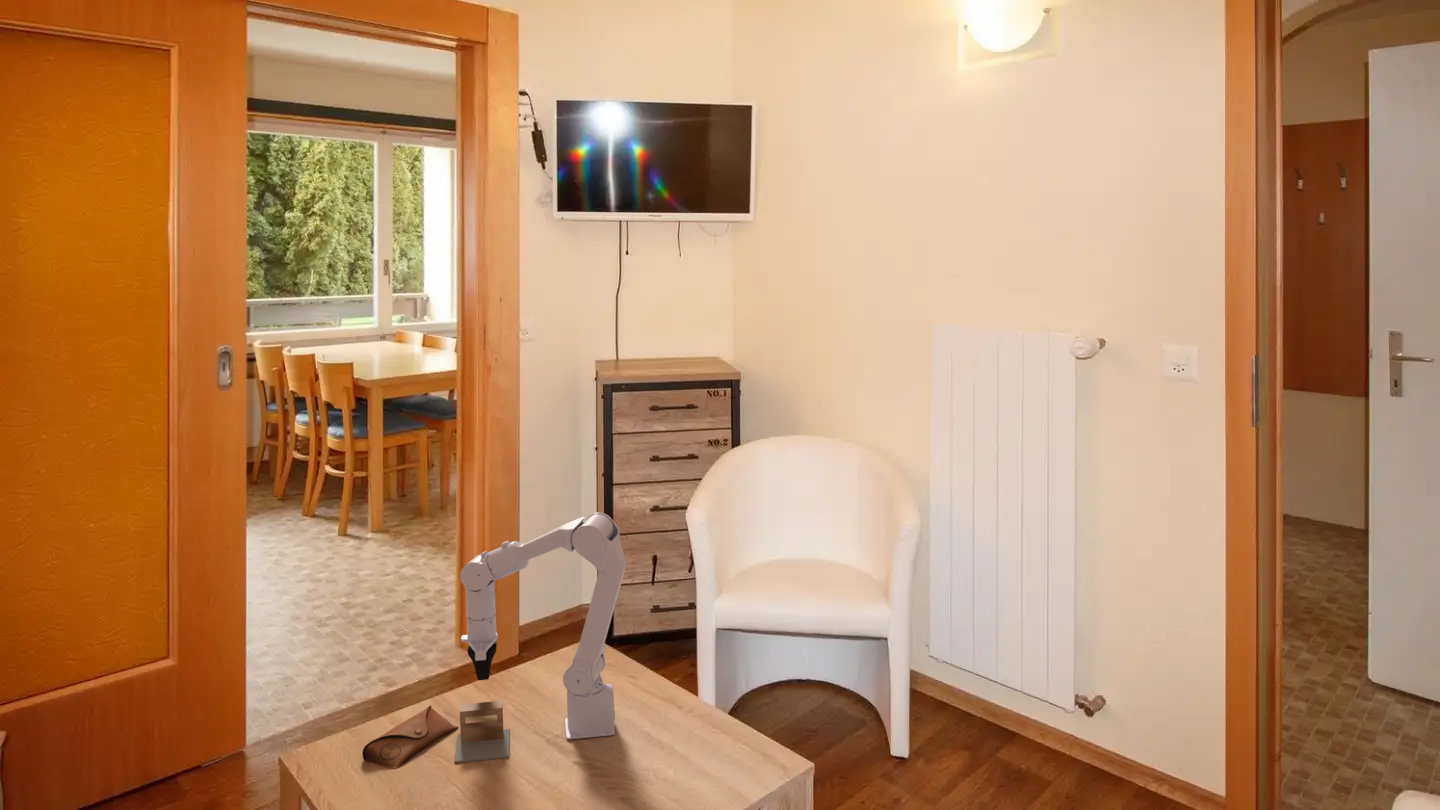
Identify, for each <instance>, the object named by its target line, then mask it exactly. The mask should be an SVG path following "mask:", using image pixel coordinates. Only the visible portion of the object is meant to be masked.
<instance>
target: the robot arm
mask: <svg viewBox="0 0 1440 810" xmlns="http://www.w3.org/2000/svg"><path fill="white" fill-rule="evenodd" d="M584 520H585V521H584ZM620 535H621V534H620V527H619V526H618V524H616V522H615V521H614V520H613V518H612V517H611V516H609V515H608V514H606V513H603V512H593V513H591V514H590V515H589V516H588V517H587V518H586V516H582V517H579V518H576V519H575V520H572V521H569V522H566V523H565V524H562V525H560V526H559V527H556V528H554V529H552V530H550V531H548V532H545V533H544V534H541V535H539V536H538V537H535V538H533V539H531V540H529V541H527V542H525V543H522V542H519V541H516V540H514V541H512V542H510V540H505V541H503V542H502V543H501V544H500V547H497V548H495V549H494V550H491V551H488V550H485V551H483V552H481V553H480V554H478V555H476V556H475V557H474V558H472V559H471V560H470V561H468V562H467V563H466V564H465V565H464V566H463V567H462V568H461V570H460V575H459V577H460V578H459V579H460V582H461V584H462V585H463V586H464V588H465V612H466V613H465V615H466V634H465V635H464V634H463V635H461V638H460V641H461V643H467V644H468V646H467V655H468V657H469V658H470V659H471V662H472V664H473V668H474V671H475V675H476V678H477V680H478V681H488V680H489V679H490V675H491V668H492V663H493V662H492V661H493V659H494V656H495V654H496V652H497V645H498V641H497V640H498V637H499V636H498V635H499V634H498V632H497V615H496V613H497V612H496V611H497V610H496V588H495V586H496V585H495V581H497V580H498V581H499V580H500V579H503V578H506V577H508V576H510V575H512V574H514V573H516V572H519V571H521V570H522V571H523V569H526V568H527V567H528V564H529V560H531V559H535V558H537V557H539V556H542V555H544V554H547V553H549V552H552V551H555V550H557V549H560V548H563V549H565V550H566V551H568V552H570V553H573V552H574V551H575V552H576V553H578V554H579V555H580V556H581V557H583V558H584V559H585V560H586V561H588V562H589V563H590V564H592V565H593V566H594V567H595V569H596V570H597V571H598V575H597V577H596V581H595V585H594V589H593V592H592V596H591V600H590V604H589V607H588V611H587V615H586V617H585V621H584V626H583V630H582V631H581V635H580V636H581V637H580V640H579V643H578V646H577V647H576V651H575V654H574V656H573V659H572V661H571V663H570V665H569V666H568V667H567V669H566V670H565V672H564V673H563V677H562V678H563V681H562V682H563V685H564V687H565V689H566V705H567V706H566V707H567V708H566V712H567V713H566V714H567V717H566V718H565V719H564V725H565V737H566V740H576V739H577V740H578V739H586V738H597V737H598V738H599V737H607V736H608V737H609V736H615V720H616V713H615V696H614V687H613V686H614V685H613V684H611V683H604V682H603V678H602V676H601V673H602V672H603V670H605V667H606V657H605V650H606V645H605V643H606V639H607V637H608V632H609V629H610V625H611V621H612V617H613V614H614V610H615V608H616V607H615V606H616V605H617V600H618V597H619V592H620V589H621V585H622V583H623V578H624V574H625V572H626V567H627V560H626V556H625V555H626V554H625V552H624V548H623V544H622V541H621V536H620Z"/></svg>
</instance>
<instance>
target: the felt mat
mask: <svg viewBox="0 0 1440 810" xmlns="http://www.w3.org/2000/svg"><path fill="white" fill-rule="evenodd" d="M510 730H511V729H510V728H507V729H506V728H505V729H503V739H495V740H485V741H474V742H464V743H461V733H458V734H457V738H456V739H457V740H456V747H455V753H454V762H453V763H454V764H460V763H468V762H469V763H470V762H479V761H480V762H481V761H489V760H500V759H508V758H510V734H511V731H510Z"/></svg>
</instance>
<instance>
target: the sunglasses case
mask: <svg viewBox="0 0 1440 810" xmlns="http://www.w3.org/2000/svg"><path fill="white" fill-rule="evenodd" d="M458 728H459V726H456V725H453V724H452V723H451V722H450V721H449V720H448V719H446V718H445V717H444V716H442V715H441V714H440V713H439V712H438V711H436V710H435V709H434V708H432V705H429V706H428V707H426V708H425V709H424V710H422V711H421V712H419V713H417V714H415V715H413V716H412V717H410V718H408V719H406V720H405V721H403V722H402V723H401V722H400V723H399V724H398V725H396V726H395V727H393V728H392V729H390V730H388V731H387V732H385V733H383V734H382V735H380V736H379V737H377V738H375V739H373V740H371V741H369V742H368V743H367V744H366V745H365V746H364V747H363V749H362V752H361V753H362V754H361V755H362V759H363V760H364V762H368V763H371V764H373V765H374V764H375V765H378V766H381V767H384V768H390V769H393V770H397V769H399V768H400V767H401V766H402V765H404V764H405V763H406V762H407V761H409V760H410V759H412V758H413V757H414V756H416V755H417V754H419V753H421V752H422V751H423V750H425V749H426V748H428V747H429V746H431V745H433V744H434V743H435V742H437V741H439V740H440V739H441V738H443V737H444V736H446V735H448V734H450V733H452V732H454V731H456V730H458Z"/></svg>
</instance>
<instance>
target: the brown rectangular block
mask: <svg viewBox="0 0 1440 810" xmlns="http://www.w3.org/2000/svg"><path fill="white" fill-rule="evenodd" d="M459 707H460V708H459V724H460V725H459V727H460V734H461V743H464V742H474V741H485V740H495V739H503V730H504V709H503V708H504V707H503V700H495V701H485V702H483V701H482V702H472V703H471V702H470V703H461V704H460V706H459Z"/></svg>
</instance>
